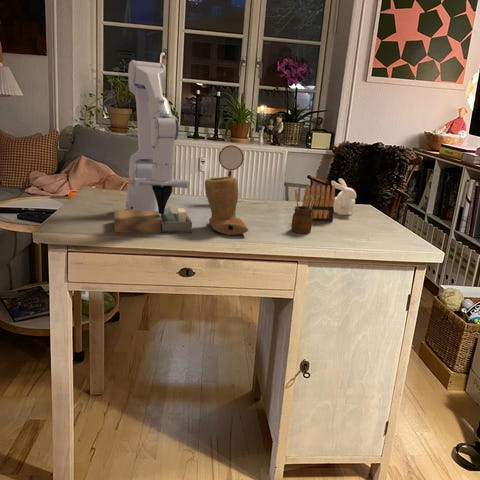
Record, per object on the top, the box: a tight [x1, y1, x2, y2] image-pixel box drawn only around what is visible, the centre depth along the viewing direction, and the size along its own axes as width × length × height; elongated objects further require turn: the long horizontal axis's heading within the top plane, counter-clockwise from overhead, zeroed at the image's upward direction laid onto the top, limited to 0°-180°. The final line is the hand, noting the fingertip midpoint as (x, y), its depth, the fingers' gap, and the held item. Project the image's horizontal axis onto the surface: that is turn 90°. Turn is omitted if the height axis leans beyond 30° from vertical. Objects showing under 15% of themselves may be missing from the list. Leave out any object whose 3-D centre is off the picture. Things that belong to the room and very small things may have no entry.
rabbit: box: [330, 178, 357, 216], centre depth 178 cm, size 12×9×12 cm
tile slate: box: [164, 206, 177, 222], centre depth 139 cm, size 4×4×2 cm
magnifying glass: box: [218, 144, 245, 177], centre depth 176 cm, size 9×2×20 cm, turn 96°
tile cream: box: [176, 207, 187, 222], centre depth 140 cm, size 4×4×2 cm
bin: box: [160, 212, 193, 234], centre depth 140 cm, size 8×10×3 cm
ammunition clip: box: [301, 183, 336, 223], centre depth 161 cm, size 11×2×12 cm, turn 103°
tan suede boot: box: [204, 176, 249, 236], centre depth 142 cm, size 15×12×15 cm
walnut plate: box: [113, 209, 162, 234], centre depth 138 cm, size 12×10×4 cm
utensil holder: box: [290, 188, 315, 234], centre depth 148 cm, size 6×6×12 cm
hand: (161, 212), depth 139 cm, fingers closed
